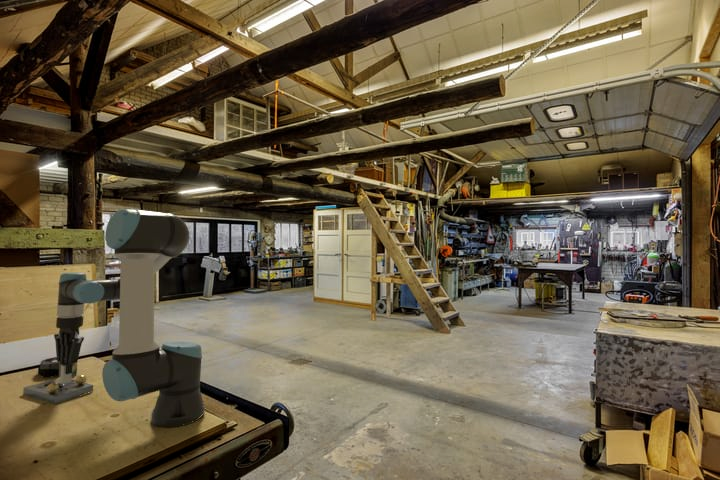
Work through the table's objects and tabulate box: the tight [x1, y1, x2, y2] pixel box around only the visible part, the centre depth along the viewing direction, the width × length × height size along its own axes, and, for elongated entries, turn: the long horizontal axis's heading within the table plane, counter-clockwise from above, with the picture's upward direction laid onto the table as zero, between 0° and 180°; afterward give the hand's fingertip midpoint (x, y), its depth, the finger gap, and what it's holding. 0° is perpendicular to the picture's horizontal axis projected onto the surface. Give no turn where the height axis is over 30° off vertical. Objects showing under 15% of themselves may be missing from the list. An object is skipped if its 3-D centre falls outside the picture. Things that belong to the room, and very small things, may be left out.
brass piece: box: [75, 374, 88, 384], centre depth 131 cm, size 3×3×3 cm
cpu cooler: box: [37, 356, 60, 379], centre depth 148 cm, size 10×6×10 cm
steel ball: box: [54, 376, 64, 387], centre depth 128 cm, size 3×3×3 cm
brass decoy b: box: [46, 383, 59, 393], centre depth 123 cm, size 3×3×3 cm
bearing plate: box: [22, 378, 94, 405], centre depth 128 cm, size 18×12×2 cm, turn 69°
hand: (65, 382), depth 127 cm, fingers closed
